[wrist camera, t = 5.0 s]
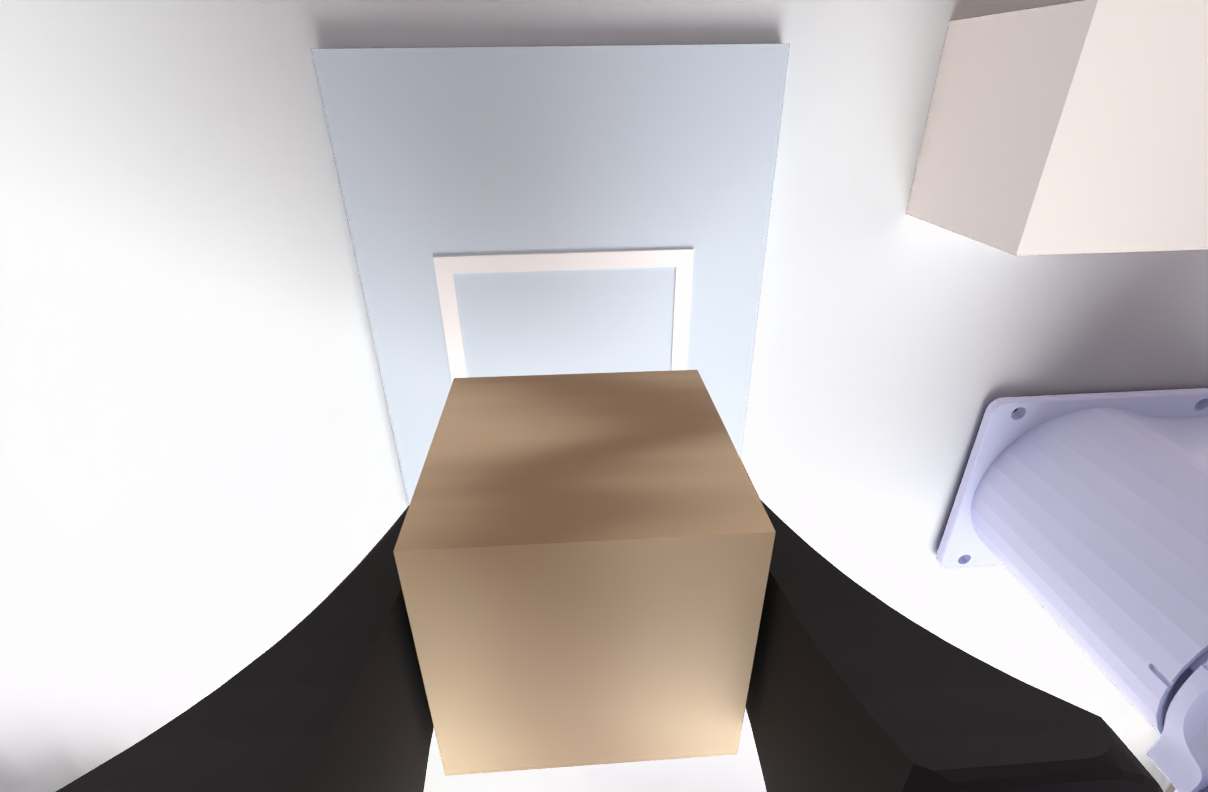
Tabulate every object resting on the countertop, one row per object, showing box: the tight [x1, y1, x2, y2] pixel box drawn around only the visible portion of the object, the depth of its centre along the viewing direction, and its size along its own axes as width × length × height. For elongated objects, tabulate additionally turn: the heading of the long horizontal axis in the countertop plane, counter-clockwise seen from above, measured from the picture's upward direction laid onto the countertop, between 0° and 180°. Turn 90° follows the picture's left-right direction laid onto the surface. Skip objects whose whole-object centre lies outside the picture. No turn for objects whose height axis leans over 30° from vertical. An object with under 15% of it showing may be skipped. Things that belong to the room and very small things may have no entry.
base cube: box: [393, 370, 776, 776], centre depth 11 cm, size 5×5×5 cm
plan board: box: [311, 44, 790, 505], centre depth 19 cm, size 12×15×1 cm
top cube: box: [906, 0, 1208, 256], centre depth 15 cm, size 5×5×5 cm
